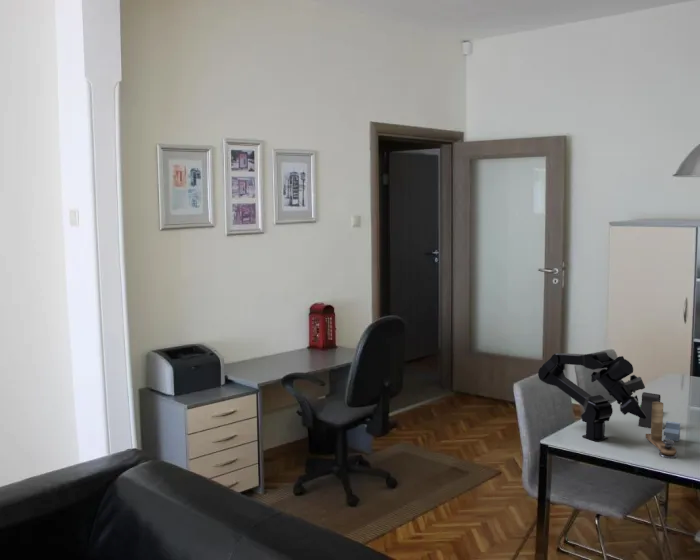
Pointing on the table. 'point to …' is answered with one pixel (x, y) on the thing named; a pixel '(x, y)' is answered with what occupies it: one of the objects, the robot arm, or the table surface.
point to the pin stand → (668, 445)
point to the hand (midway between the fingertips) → (645, 418)
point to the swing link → (658, 429)
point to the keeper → (672, 431)
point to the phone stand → (647, 408)
